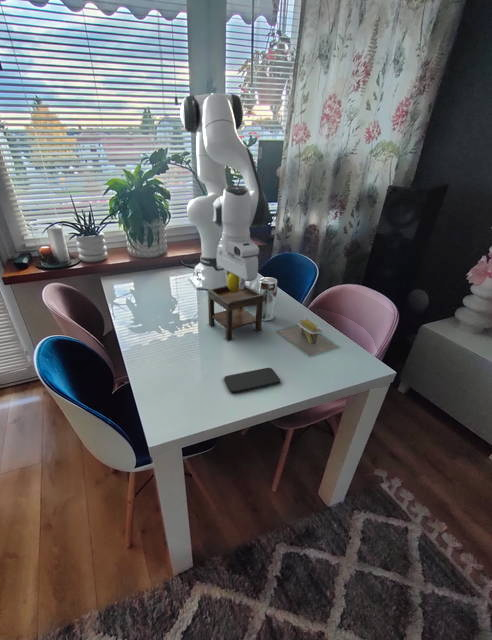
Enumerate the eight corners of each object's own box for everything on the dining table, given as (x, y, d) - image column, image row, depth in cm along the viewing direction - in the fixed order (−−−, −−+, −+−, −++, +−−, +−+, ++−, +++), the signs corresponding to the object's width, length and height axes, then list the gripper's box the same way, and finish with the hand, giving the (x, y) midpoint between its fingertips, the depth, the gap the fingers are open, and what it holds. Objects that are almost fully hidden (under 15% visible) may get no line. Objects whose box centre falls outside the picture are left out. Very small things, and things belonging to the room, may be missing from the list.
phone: (223, 376, 94) (270, 366, 97) (223, 378, 94) (270, 369, 98) (231, 391, 88) (281, 381, 91) (231, 394, 88) (281, 383, 92)
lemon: (234, 288, 116) (235, 266, 111) (246, 293, 112) (247, 270, 108) (223, 293, 112) (223, 270, 108) (235, 297, 109) (235, 274, 105)
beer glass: (273, 322, 123) (277, 284, 115) (255, 320, 125) (257, 283, 116) (275, 314, 129) (278, 277, 121) (257, 312, 130) (259, 276, 122)
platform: (309, 356, 104) (312, 338, 100) (277, 331, 117) (279, 315, 113) (338, 347, 108) (342, 329, 105) (303, 324, 122) (306, 308, 118)
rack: (208, 324, 122) (207, 289, 114) (240, 316, 128) (241, 282, 120) (228, 340, 112) (228, 303, 104) (261, 330, 118) (263, 294, 110)
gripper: (211, 238, 109) (212, 278, 117) (245, 253, 95) (243, 297, 102) (227, 236, 112) (227, 275, 120) (262, 249, 97) (260, 293, 105)
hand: (235, 285), depth 111 cm, fingers closed on lemon, 5 cm apart
